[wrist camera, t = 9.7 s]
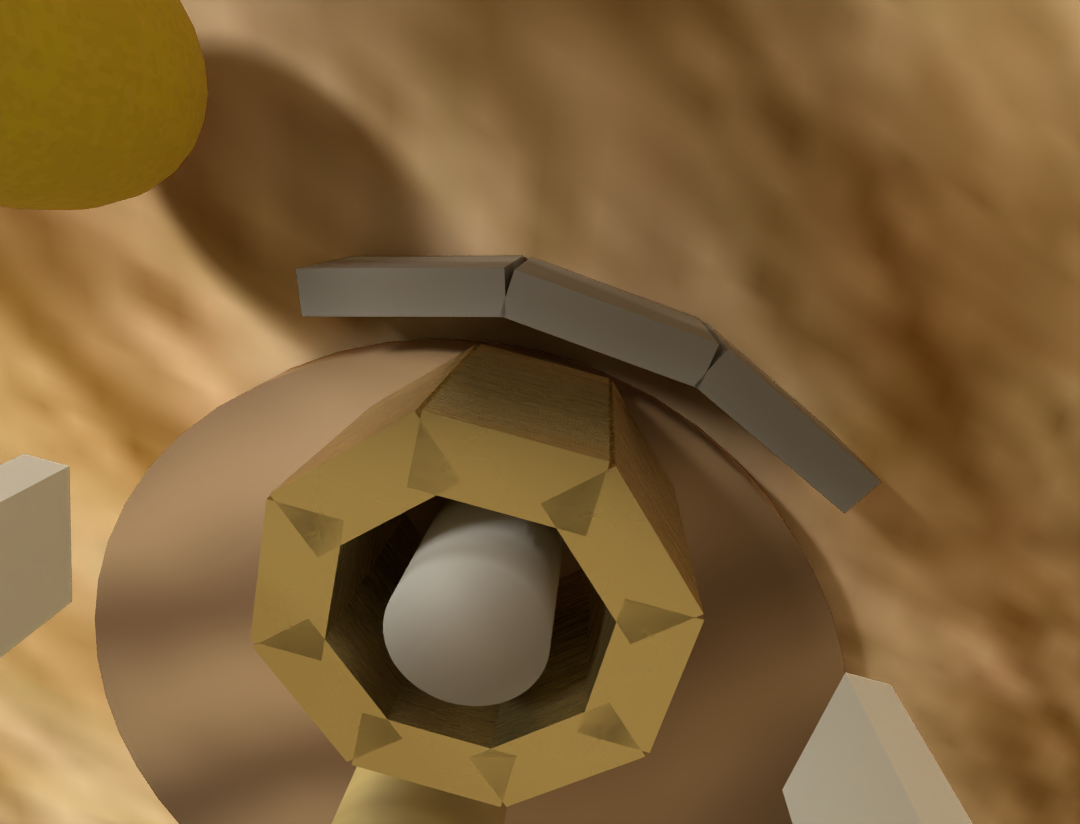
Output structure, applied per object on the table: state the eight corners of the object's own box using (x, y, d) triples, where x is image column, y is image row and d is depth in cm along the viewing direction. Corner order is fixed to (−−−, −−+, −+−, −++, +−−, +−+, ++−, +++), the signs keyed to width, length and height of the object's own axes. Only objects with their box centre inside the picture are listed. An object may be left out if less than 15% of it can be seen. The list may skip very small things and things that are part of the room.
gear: (300, 447, 16) (172, 549, 11) (562, 293, 14) (540, 339, 9) (463, 672, 18) (412, 841, 13) (716, 562, 16) (763, 713, 11)
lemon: (294, -1, 14) (-61, -233, 7) (253, 239, 16) (-62, 272, 8) (62, -85, 14) (-561, -414, 7) (48, 165, 16) (-453, 133, 8)
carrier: (-37, 515, 20) (-341, 662, 13) (648, 58, 14) (683, -63, 8) (384, 982, 25) (308, 1247, 19) (1011, 795, 19) (1212, 1089, 13)
